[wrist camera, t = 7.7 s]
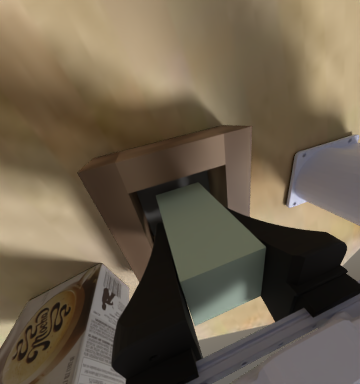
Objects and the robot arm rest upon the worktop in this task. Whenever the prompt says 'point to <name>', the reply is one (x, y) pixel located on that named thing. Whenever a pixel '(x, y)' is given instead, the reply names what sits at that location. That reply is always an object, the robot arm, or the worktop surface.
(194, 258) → the peg
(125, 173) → the well block
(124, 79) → the worktop surface
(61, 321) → the coffee box
